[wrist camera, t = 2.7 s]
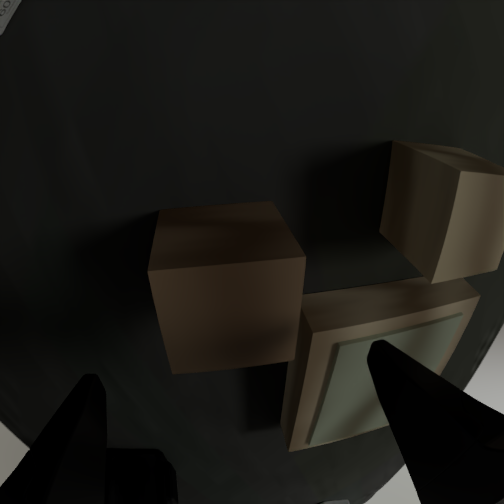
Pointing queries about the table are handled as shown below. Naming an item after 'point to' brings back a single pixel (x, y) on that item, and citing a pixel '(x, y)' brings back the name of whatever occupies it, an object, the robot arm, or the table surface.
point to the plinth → (364, 352)
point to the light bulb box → (7, 12)
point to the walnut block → (226, 286)
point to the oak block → (444, 210)
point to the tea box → (336, 502)
